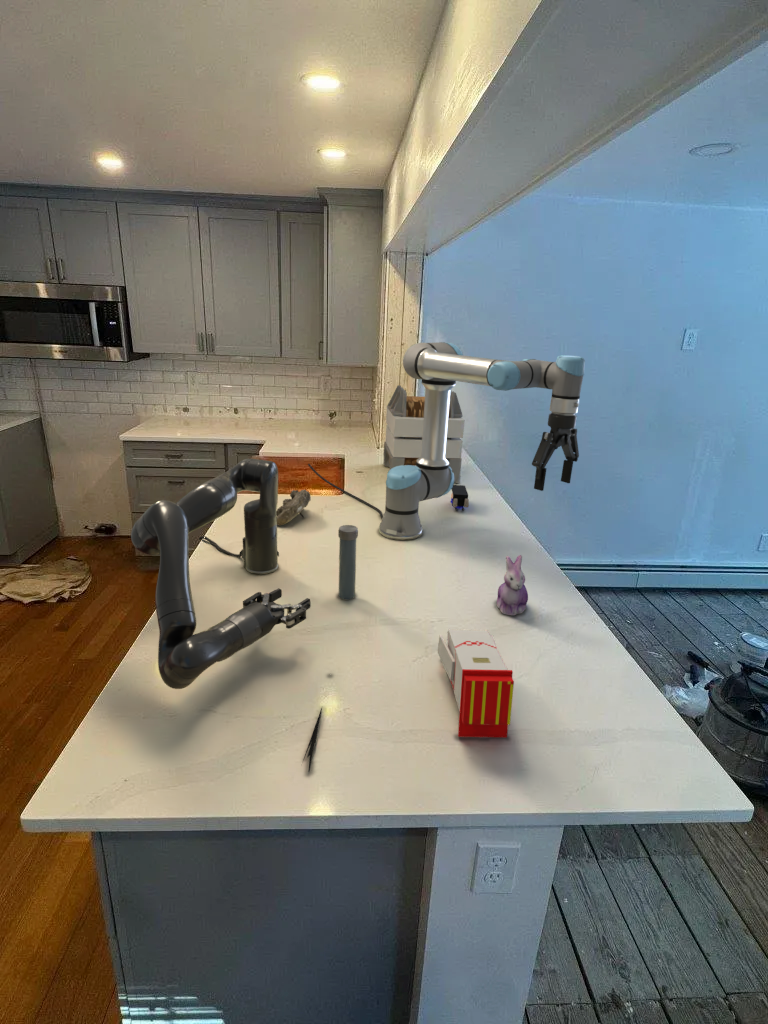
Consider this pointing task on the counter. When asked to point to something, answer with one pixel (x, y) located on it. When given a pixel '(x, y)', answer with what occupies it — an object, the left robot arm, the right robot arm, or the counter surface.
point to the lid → (348, 532)
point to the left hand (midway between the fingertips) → (294, 597)
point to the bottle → (347, 568)
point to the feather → (313, 740)
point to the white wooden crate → (419, 431)
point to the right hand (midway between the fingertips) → (552, 485)
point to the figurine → (512, 589)
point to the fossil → (292, 506)
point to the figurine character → (459, 497)
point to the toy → (478, 682)
